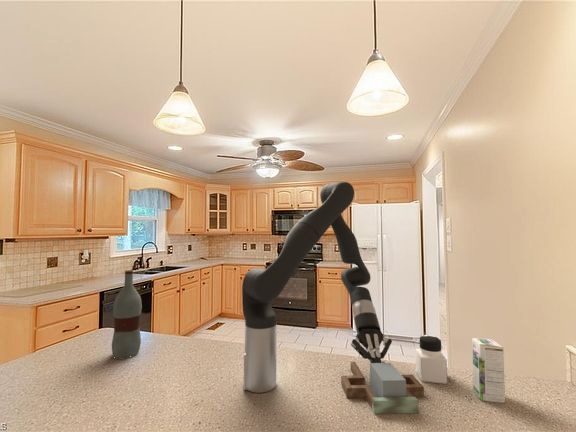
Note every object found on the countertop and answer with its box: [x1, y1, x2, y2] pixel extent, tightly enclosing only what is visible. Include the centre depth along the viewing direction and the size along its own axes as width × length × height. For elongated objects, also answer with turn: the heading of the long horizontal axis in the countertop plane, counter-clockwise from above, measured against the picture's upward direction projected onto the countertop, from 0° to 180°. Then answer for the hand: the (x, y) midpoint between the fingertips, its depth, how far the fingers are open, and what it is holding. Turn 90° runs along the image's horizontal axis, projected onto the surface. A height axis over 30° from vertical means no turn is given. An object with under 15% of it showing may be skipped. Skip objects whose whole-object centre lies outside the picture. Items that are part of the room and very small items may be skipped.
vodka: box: [111, 269, 143, 359], centre depth 107 cm, size 9×9×30 cm
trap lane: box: [340, 360, 425, 415], centre depth 83 cm, size 21×23×3 cm
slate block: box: [369, 362, 406, 397], centre depth 79 cm, size 6×10×7 cm, turn 2°
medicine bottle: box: [415, 334, 448, 385], centre depth 90 cm, size 7×7×12 cm
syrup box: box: [471, 337, 506, 404], centre depth 79 cm, size 6×6×14 cm
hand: (378, 372), depth 84 cm, fingers closed
